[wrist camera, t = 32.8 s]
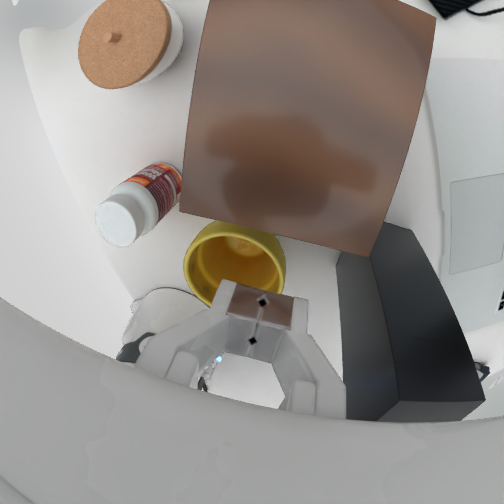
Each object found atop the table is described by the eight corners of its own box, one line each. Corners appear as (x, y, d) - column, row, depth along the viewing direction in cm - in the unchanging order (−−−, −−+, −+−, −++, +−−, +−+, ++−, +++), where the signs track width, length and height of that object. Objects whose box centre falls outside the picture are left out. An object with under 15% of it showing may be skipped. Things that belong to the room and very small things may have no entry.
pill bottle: (174, 154, 33) (122, 186, 23) (192, 199, 35) (151, 245, 26) (135, 170, 35) (82, 206, 25) (154, 211, 37) (108, 256, 28)
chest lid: (366, 252, 20) (368, 258, 19) (183, 207, 20) (178, 211, 20) (432, 20, 10) (436, 17, 10) (221, -30, 11) (217, -34, 10)
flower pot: (290, 193, 33) (283, 234, 25) (290, 267, 38) (283, 319, 30) (205, 193, 35) (173, 231, 27) (215, 263, 40) (192, 311, 32)
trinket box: (124, 95, 29) (74, 105, 21) (113, 23, 24) (63, 16, 16) (204, 72, 27) (166, 70, 19) (191, -7, 21) (152, -31, 13)
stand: (388, 279, 37) (422, 446, 17) (335, 266, 37) (342, 446, 17) (412, 230, 32) (486, 400, 12) (356, 213, 33) (399, 400, 13)
